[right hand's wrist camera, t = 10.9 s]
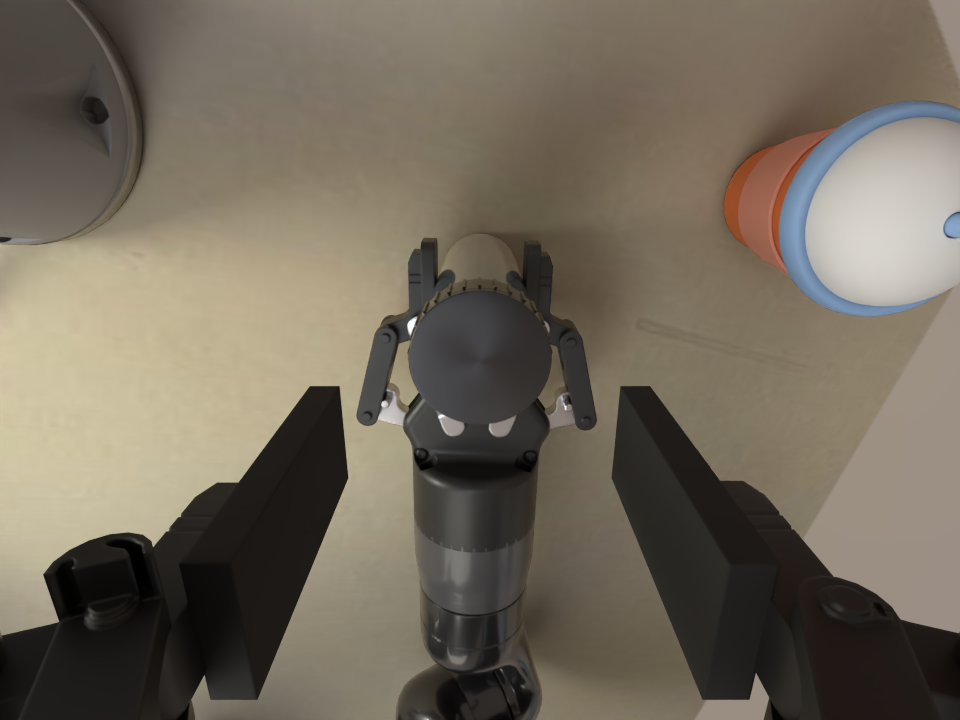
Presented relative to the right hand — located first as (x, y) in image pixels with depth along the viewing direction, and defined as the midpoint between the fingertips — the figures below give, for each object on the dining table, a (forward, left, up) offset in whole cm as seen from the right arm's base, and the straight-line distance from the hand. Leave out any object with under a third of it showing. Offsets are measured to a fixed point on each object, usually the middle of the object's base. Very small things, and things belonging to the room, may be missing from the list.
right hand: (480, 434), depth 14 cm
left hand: (+2, +2, -16) cm, 16 cm away
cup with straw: (+16, -9, -22) cm, 29 cm away
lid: (0, 0, -6) cm, 6 cm away
